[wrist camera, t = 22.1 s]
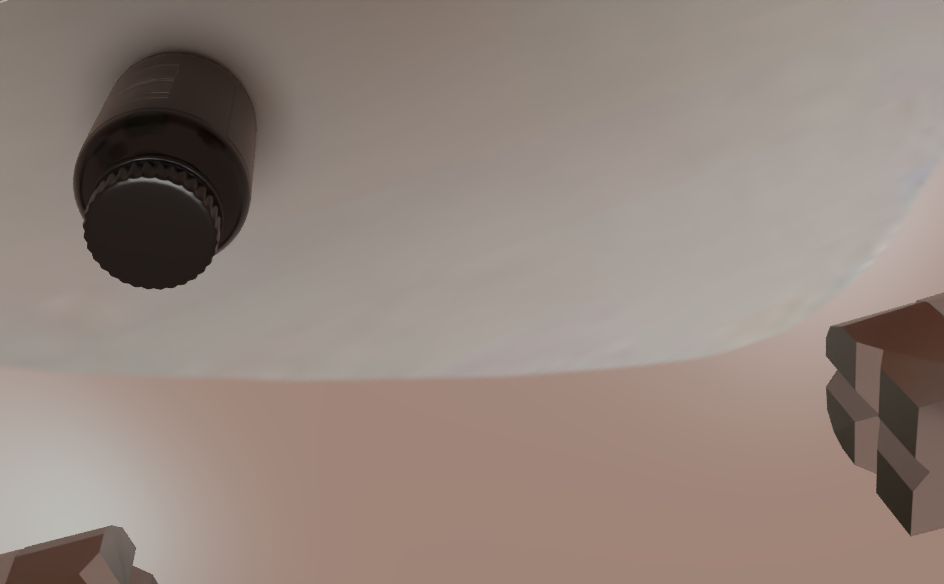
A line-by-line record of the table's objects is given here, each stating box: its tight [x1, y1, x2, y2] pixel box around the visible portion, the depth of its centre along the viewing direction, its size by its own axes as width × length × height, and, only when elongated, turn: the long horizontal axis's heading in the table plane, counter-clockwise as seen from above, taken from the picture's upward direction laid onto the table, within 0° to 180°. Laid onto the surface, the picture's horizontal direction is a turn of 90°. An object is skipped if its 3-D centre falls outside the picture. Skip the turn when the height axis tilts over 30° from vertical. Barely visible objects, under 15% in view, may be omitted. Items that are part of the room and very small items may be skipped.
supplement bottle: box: [73, 53, 257, 290], centre depth 38 cm, size 7×7×12 cm
